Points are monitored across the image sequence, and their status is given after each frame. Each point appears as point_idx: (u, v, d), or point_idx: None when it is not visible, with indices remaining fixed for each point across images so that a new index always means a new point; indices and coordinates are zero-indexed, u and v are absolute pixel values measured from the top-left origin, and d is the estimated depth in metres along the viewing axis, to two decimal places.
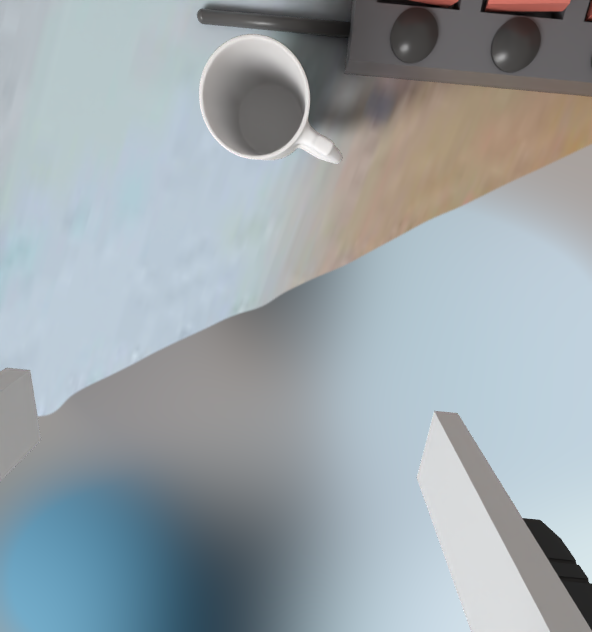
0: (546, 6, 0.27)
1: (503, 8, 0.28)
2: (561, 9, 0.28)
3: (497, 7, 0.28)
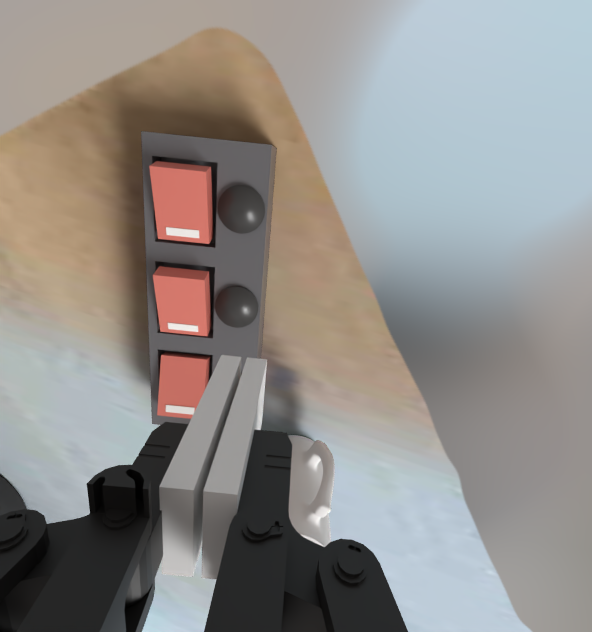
0: (206, 291, 0.30)
1: (208, 318, 0.32)
2: (207, 275, 0.30)
3: (208, 323, 0.32)
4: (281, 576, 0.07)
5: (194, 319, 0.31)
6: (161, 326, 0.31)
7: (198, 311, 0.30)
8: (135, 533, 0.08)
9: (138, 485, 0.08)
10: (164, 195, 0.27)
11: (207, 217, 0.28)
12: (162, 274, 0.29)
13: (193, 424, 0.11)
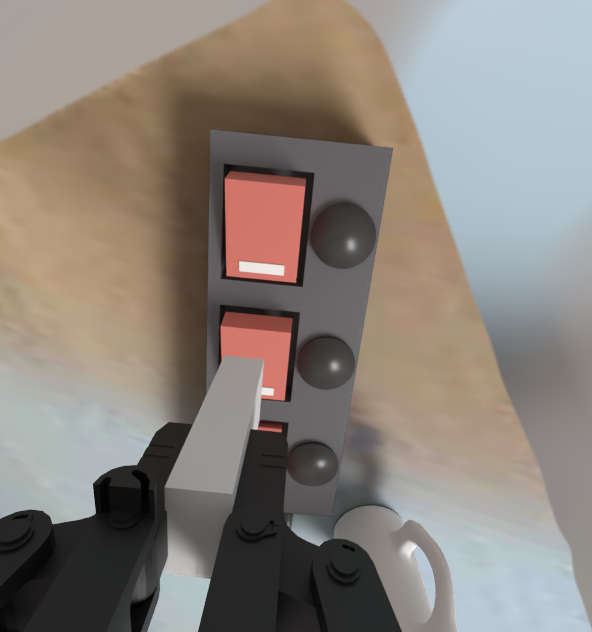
0: None
1: None
2: (291, 324, 0.22)
3: None
4: (275, 575, 0.07)
5: (270, 380, 0.23)
6: None
7: (277, 371, 0.23)
8: (141, 534, 0.08)
9: (144, 486, 0.08)
10: (241, 219, 0.19)
11: (298, 248, 0.20)
12: (233, 325, 0.21)
13: (197, 424, 0.11)
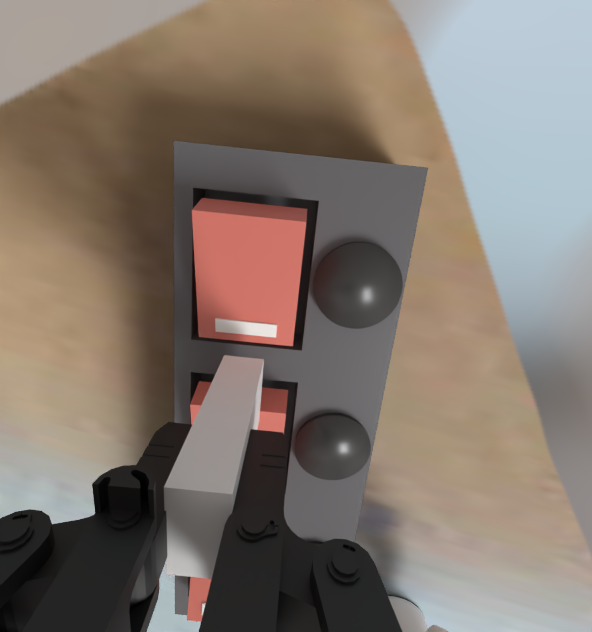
0: None
1: None
2: None
3: None
4: (276, 575, 0.07)
5: None
6: None
7: None
8: (140, 534, 0.08)
9: (143, 486, 0.08)
10: (217, 264, 0.14)
11: (296, 303, 0.15)
12: None
13: (197, 424, 0.11)
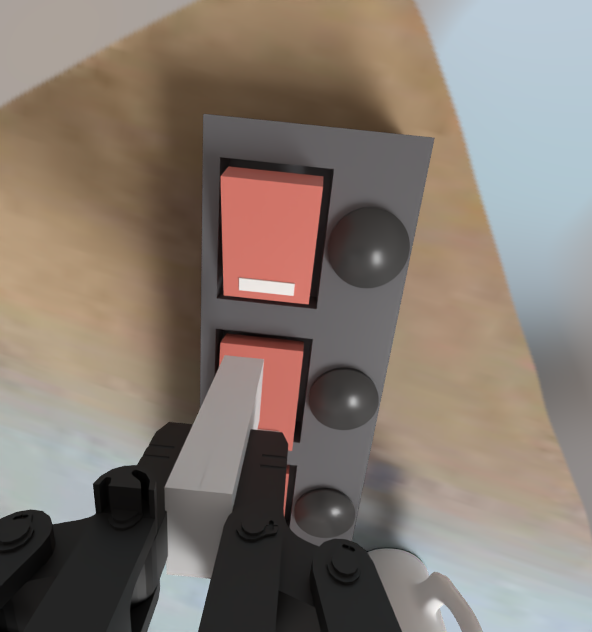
0: None
1: None
2: None
3: None
4: (275, 575, 0.07)
5: (275, 420, 0.19)
6: None
7: (284, 406, 0.18)
8: (140, 534, 0.08)
9: (143, 486, 0.08)
10: (242, 226, 0.15)
11: (312, 263, 0.16)
12: (236, 343, 0.18)
13: (197, 424, 0.11)
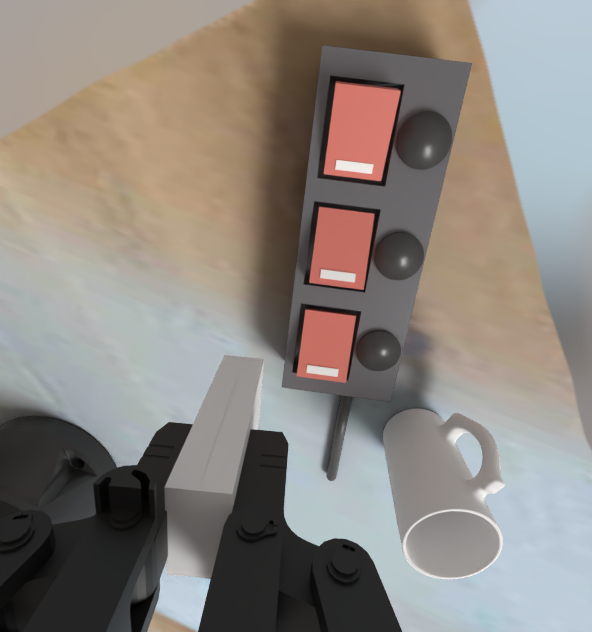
0: None
1: None
2: None
3: None
4: (276, 575, 0.07)
5: (353, 265, 0.27)
6: (312, 275, 0.27)
7: (360, 254, 0.27)
8: (141, 534, 0.08)
9: (144, 485, 0.08)
10: (344, 120, 0.24)
11: (387, 148, 0.25)
12: (329, 208, 0.27)
13: (197, 424, 0.11)
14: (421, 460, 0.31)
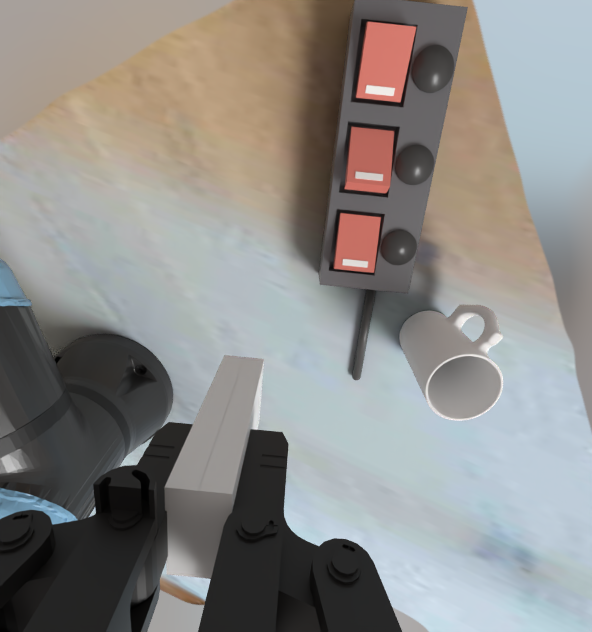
0: None
1: None
2: None
3: None
4: (275, 575, 0.07)
5: (380, 168, 0.34)
6: (348, 176, 0.34)
7: (385, 160, 0.34)
8: (141, 534, 0.08)
9: (144, 485, 0.08)
10: (373, 52, 0.31)
11: (405, 74, 0.32)
12: (358, 128, 0.35)
13: (197, 424, 0.11)
14: (435, 335, 0.38)
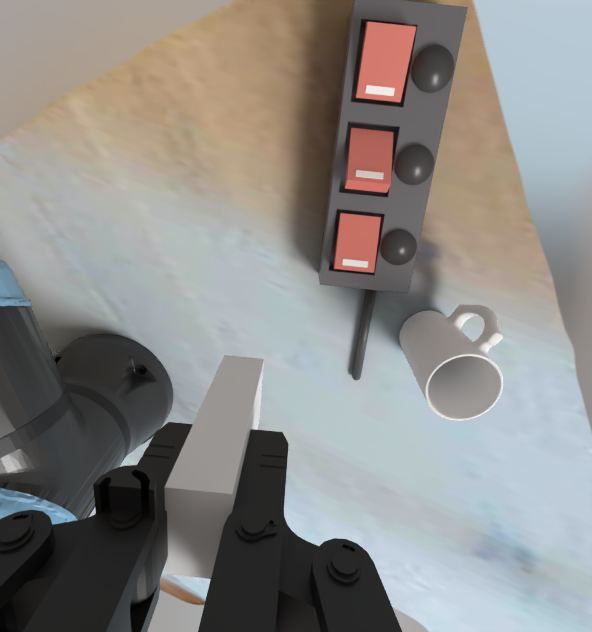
0: None
1: None
2: None
3: None
4: (275, 575, 0.07)
5: (380, 167, 0.34)
6: (349, 174, 0.34)
7: (385, 159, 0.34)
8: (141, 534, 0.08)
9: (144, 486, 0.08)
10: (373, 52, 0.31)
11: (405, 74, 0.32)
12: (358, 129, 0.35)
13: (197, 424, 0.11)
14: (435, 335, 0.38)
